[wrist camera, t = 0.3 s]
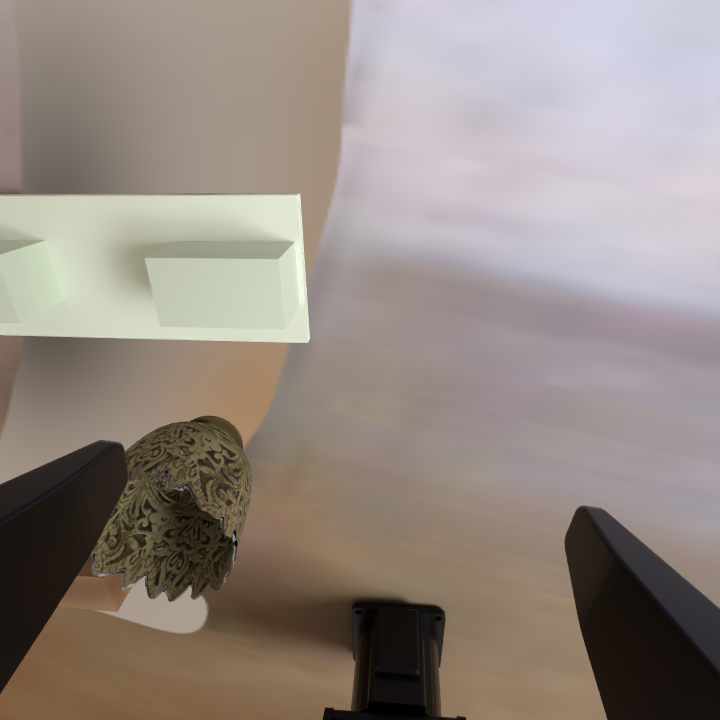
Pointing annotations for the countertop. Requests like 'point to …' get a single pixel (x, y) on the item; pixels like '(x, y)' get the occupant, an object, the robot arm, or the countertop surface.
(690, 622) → the robot arm
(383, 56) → the countertop surface
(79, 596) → the brown rectangular block
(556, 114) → the countertop surface
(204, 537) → the cup
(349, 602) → the countertop surface
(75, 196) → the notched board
